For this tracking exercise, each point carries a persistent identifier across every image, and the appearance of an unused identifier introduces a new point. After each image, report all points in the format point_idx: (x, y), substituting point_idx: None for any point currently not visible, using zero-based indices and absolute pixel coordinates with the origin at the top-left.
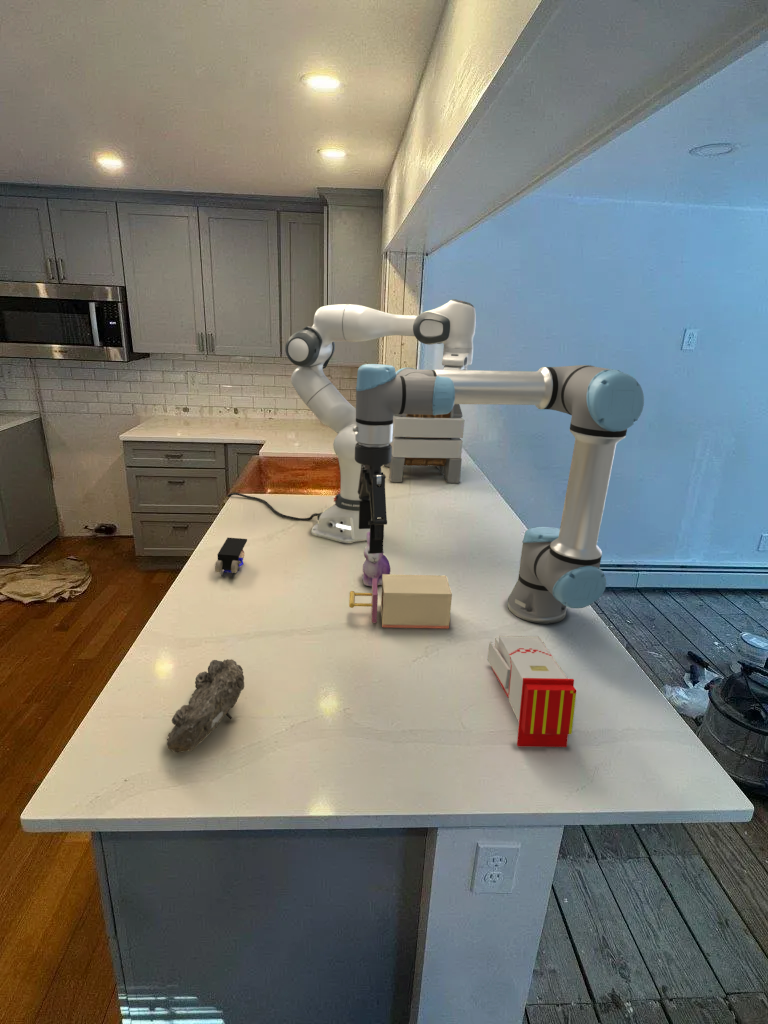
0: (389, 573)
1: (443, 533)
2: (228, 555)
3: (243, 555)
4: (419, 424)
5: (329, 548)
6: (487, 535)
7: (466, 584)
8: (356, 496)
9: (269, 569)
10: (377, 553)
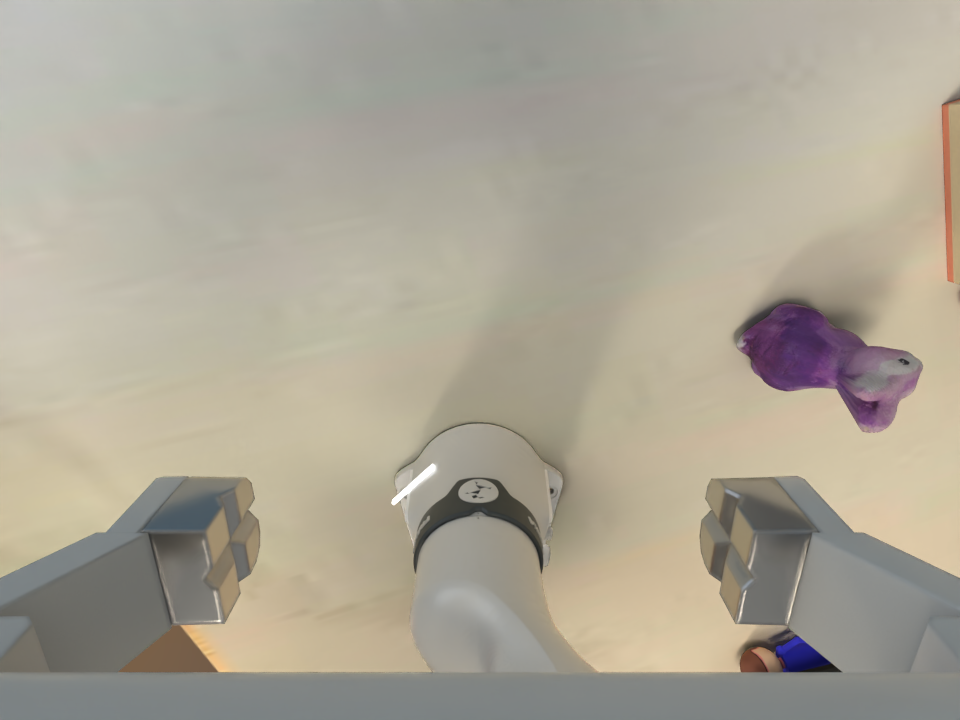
0: (804, 307)
1: (348, 217)
2: None
3: (764, 654)
4: None
5: (608, 506)
6: (285, 35)
7: (764, 56)
8: (538, 561)
9: None
10: (911, 362)
